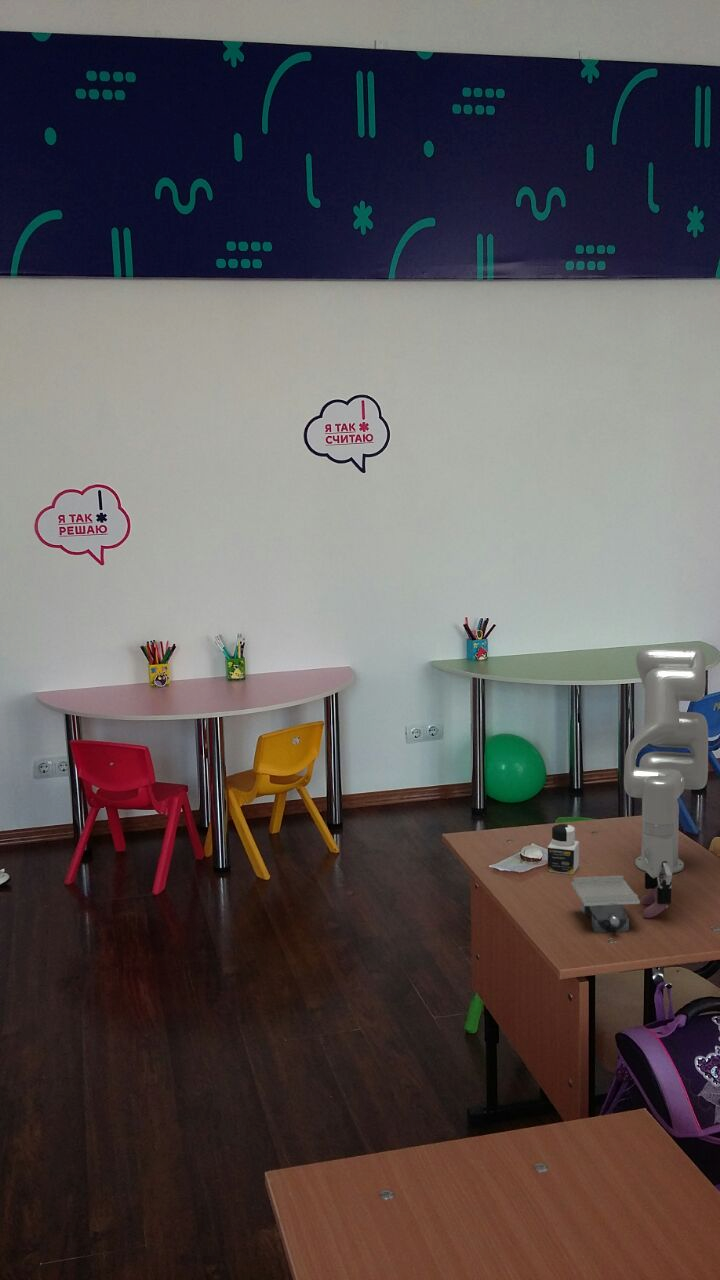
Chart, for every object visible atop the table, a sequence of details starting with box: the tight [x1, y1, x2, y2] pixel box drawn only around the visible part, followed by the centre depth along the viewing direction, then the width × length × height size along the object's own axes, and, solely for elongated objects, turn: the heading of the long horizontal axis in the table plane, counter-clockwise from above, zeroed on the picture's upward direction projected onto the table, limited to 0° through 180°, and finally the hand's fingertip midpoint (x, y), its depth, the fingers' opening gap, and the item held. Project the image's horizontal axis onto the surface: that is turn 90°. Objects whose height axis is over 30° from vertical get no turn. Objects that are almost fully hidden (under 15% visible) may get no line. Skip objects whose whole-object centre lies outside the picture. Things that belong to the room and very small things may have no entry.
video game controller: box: [640, 885, 669, 919], centre depth 269 cm, size 10×5×7 cm, turn 169°
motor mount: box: [570, 875, 641, 933], centre depth 263 cm, size 16×13×9 cm
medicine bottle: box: [547, 823, 580, 875], centre depth 299 cm, size 7×7×12 cm
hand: (657, 895), depth 269 cm, fingers closed on video game controller, 9 cm apart
